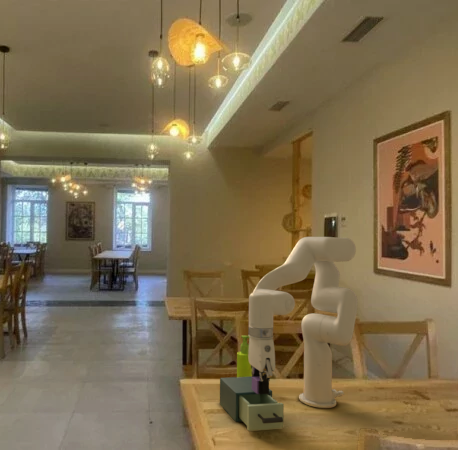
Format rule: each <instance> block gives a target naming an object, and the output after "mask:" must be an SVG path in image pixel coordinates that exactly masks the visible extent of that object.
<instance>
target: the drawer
mask: <svg viewBox="0 0 458 450" xmlns="http://www.w3.org/2000/svg"><path fill="white" fill-rule="evenodd" d="M284 407H285V405H284V403H283V402H278V401H277V400H276V399H275V398H273V396H272V397H271V396H270V395H268V394H253V395H238V417H239V418H240V419H241V420H242V421H241V422H243V423H244V424H245V425H246V430H247V431H248V432H255V431H268V430H282V429H284V417H285V416H284V414H285V413H284V411H285V409H284Z"/></svg>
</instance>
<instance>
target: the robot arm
mask: <svg viewBox="0 0 458 450" xmlns="http://www.w3.org/2000/svg"><path fill="white" fill-rule="evenodd" d="M356 252H357V247H356V243H355V242H354V241H353V239H351V238H349V237H333V236H304V237H301V238H300V239H299V240H298V241H297V242H296V244H295V246H294V247H293V249H292V250H291V252H290V253H289V255H288V256H287V258H286V260H285V262H284V263H283V264H282V265H280V266H278V267H276V268H274V269H273V270H271V271H269V272H268V273H266V274H265V275H264V276H263V277H261V279H260V280H259V281H258V283H257V284H256V286H255V287H254V289H253V291H252V292H251V293H250V294H249V296H248V336H249V337H250V338H248V339H249V340H248V344H249V352H248V358H249V363H250V365H251V368H252V377H257V376H260V381H259V394H269V389H270V381H271V378H272V377H273V375H274V374H273V372H275V371H276V352H275V351H276V350H275V343H274V316H286V315H290V314H291V313H292V312H293V311H294V309H295V306H296V300H295V298H294V296H293V295H292V294H290V293H289V292H287V291H281V290H278V289H279V288H281V287H284V286H288V285H291V284H296V283H299V282H302V281H303V280H305V279H306V278H307V277H308V276H309V274H310V271H311V269H312V268H313V266H314V268H315V276H314V280H313V281H314V282H313V287H312V292H311V298H310V304H311V306H312V307H313V308H314V309H315V310H317V311H321V312H325V313H332V314H337V316H334V315H329V314H323V313H312V312H311V313H308V314H306V315H304V317H303V318H302V320H301V324H300V325H301V327H300V328H301V333H302V339H303V392H301V393H300V394H299V395H298V399H299V401H300V402H301V403H302V404H304V405H307V406H309V407H312V408H319V409H331V408H334V407H336V406H337V400H336V398H337V397H340V398H341V397H344V396H345V392H344V391H343V390H336V389H333V354H332V350H331V349H332V348H331V347H330V345H329V344H332V345H336V346H340V347H341V346H342V347H343V346H345V347H346V346H347V345H349V344H350V343H351V341H352V339H353V336H354V330H355V326H356V318H357V312H358V305H359V302H358V296H357V293H356V292H355V291H354V290H353V289H351V288H348V287H343V286H340V279H341V274H340V271H339V268H338V267H337V265H336V264H335V262H336V263H341V262H342V263H343V262H350V261H352V260H353V258H354V257H355V255H356Z"/></svg>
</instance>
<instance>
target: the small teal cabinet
mask: <svg viewBox="0 0 458 450" xmlns="http://www.w3.org/2000/svg"><path fill="white" fill-rule="evenodd" d="M252 376H253V375H252ZM252 376H251V377H237V376H231V377H220V378H219V405H220V407H222V409H224V411H225V412H226V414H228V416H230V417H231V418H232V420H233V421H234V422H235V423H239V422H243V421H242V420H241V419H240V418H239V417H238V395H253V394H257V393H255V392H254V391H253V390H252ZM268 395H270V396H271V397H272V398H273V390H271V388H269V394H268Z"/></svg>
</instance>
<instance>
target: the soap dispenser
mask: <svg viewBox="0 0 458 450" xmlns="http://www.w3.org/2000/svg"><path fill="white" fill-rule="evenodd" d="M249 338H250V337H249V335H241V339H242V343H240V347H239V348H240V351H237V353H236V377H251V376H253V375H252V368H251V365H250V363H249V358H248V352H249V343H248V339H249Z"/></svg>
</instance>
